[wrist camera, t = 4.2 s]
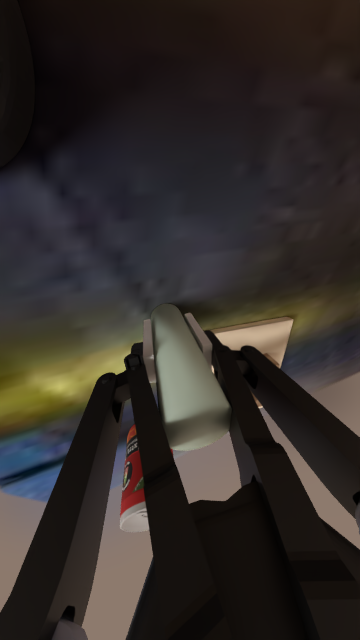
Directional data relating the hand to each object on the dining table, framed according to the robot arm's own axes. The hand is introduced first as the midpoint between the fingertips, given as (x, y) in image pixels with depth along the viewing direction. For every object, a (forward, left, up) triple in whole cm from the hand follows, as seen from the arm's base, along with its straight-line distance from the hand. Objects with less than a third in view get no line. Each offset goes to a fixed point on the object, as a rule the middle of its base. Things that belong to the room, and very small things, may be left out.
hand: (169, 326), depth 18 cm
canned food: (+23, -6, -3) cm, 24 cm away
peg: (0, 0, -3) cm, 3 cm away
